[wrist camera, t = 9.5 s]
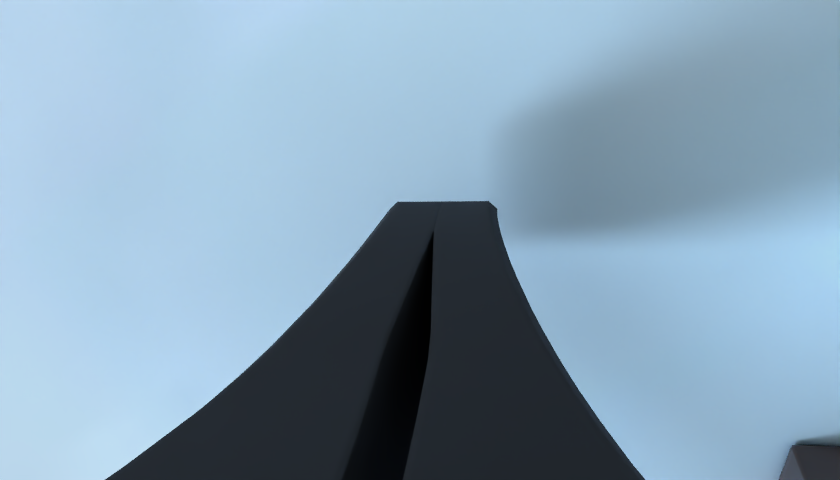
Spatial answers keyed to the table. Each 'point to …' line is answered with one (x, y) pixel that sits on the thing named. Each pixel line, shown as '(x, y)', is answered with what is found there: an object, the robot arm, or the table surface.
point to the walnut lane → (812, 463)
